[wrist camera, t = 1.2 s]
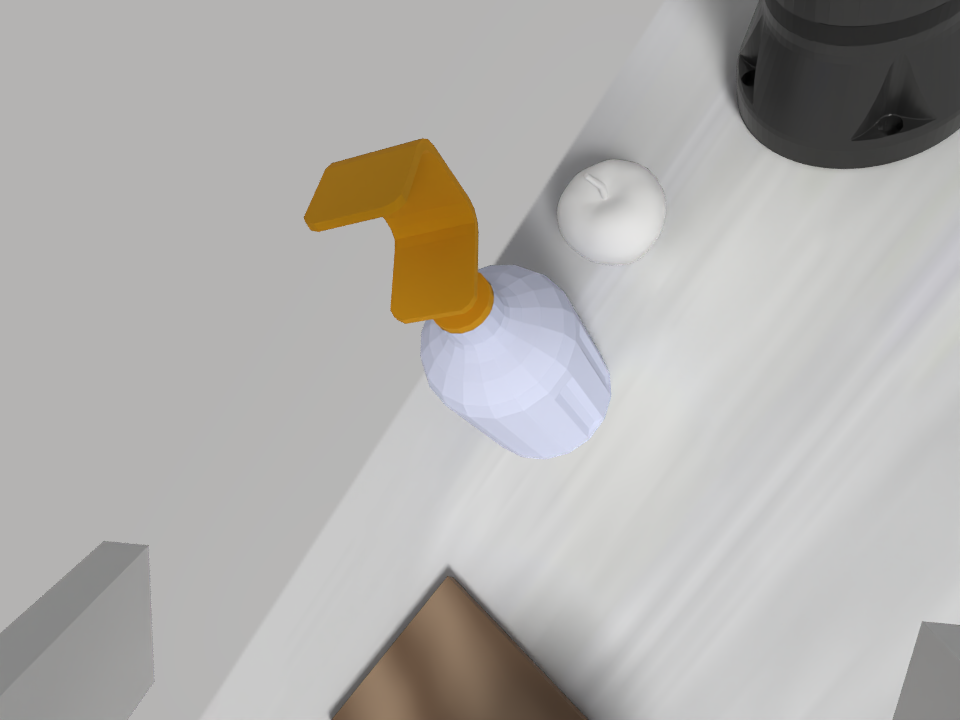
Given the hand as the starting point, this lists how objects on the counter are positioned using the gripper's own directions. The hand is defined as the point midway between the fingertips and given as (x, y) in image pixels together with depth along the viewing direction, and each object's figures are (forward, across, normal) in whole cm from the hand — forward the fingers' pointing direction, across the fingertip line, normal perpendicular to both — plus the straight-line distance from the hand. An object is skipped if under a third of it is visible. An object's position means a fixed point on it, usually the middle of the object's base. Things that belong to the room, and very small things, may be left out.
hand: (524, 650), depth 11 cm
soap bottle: (+33, +3, -6) cm, 34 cm away
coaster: (+23, -1, -24) cm, 33 cm away
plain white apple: (+38, +8, +4) cm, 39 cm away
